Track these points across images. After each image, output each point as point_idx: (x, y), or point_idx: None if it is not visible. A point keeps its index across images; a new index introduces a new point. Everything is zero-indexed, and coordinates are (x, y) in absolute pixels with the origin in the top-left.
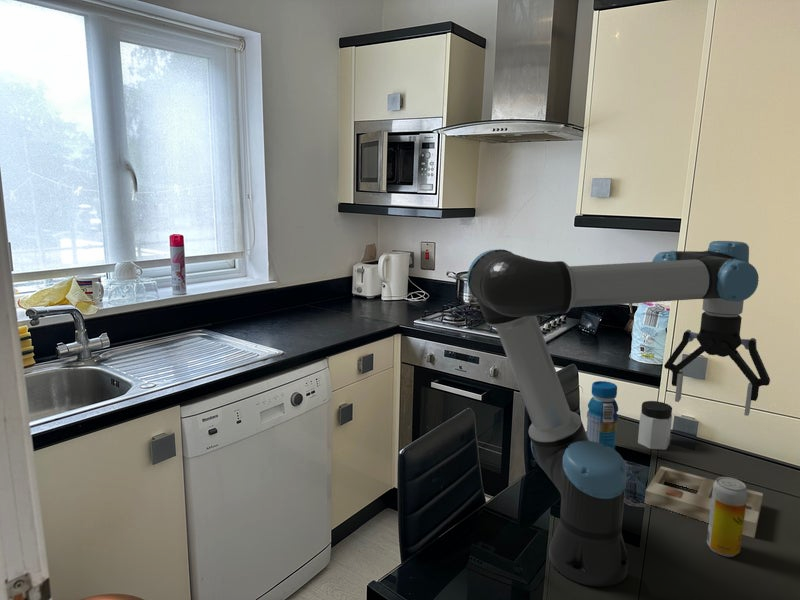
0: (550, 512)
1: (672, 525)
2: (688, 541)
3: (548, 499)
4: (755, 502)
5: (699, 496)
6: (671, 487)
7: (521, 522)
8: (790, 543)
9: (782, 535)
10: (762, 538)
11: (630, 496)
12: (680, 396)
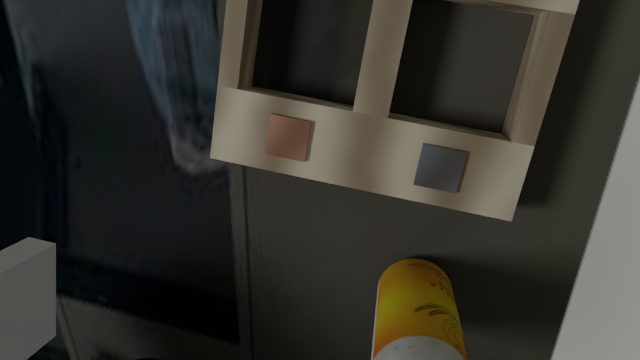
0: None
1: (301, 228)
2: (338, 284)
3: (21, 229)
4: (537, 80)
5: (361, 122)
6: (278, 99)
7: None
8: (596, 192)
9: (585, 157)
10: (522, 197)
11: (187, 121)
12: (33, 285)
